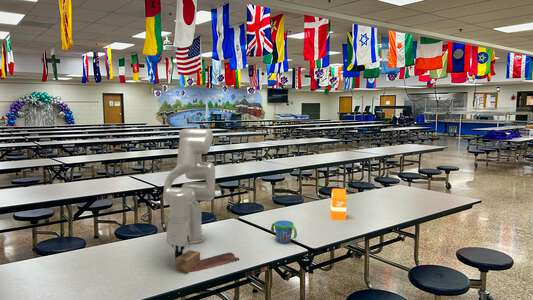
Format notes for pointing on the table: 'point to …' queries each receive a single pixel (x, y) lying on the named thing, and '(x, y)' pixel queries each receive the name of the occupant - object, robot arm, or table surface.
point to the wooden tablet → (215, 261)
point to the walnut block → (187, 261)
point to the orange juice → (338, 204)
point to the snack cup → (283, 230)
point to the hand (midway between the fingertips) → (178, 258)
